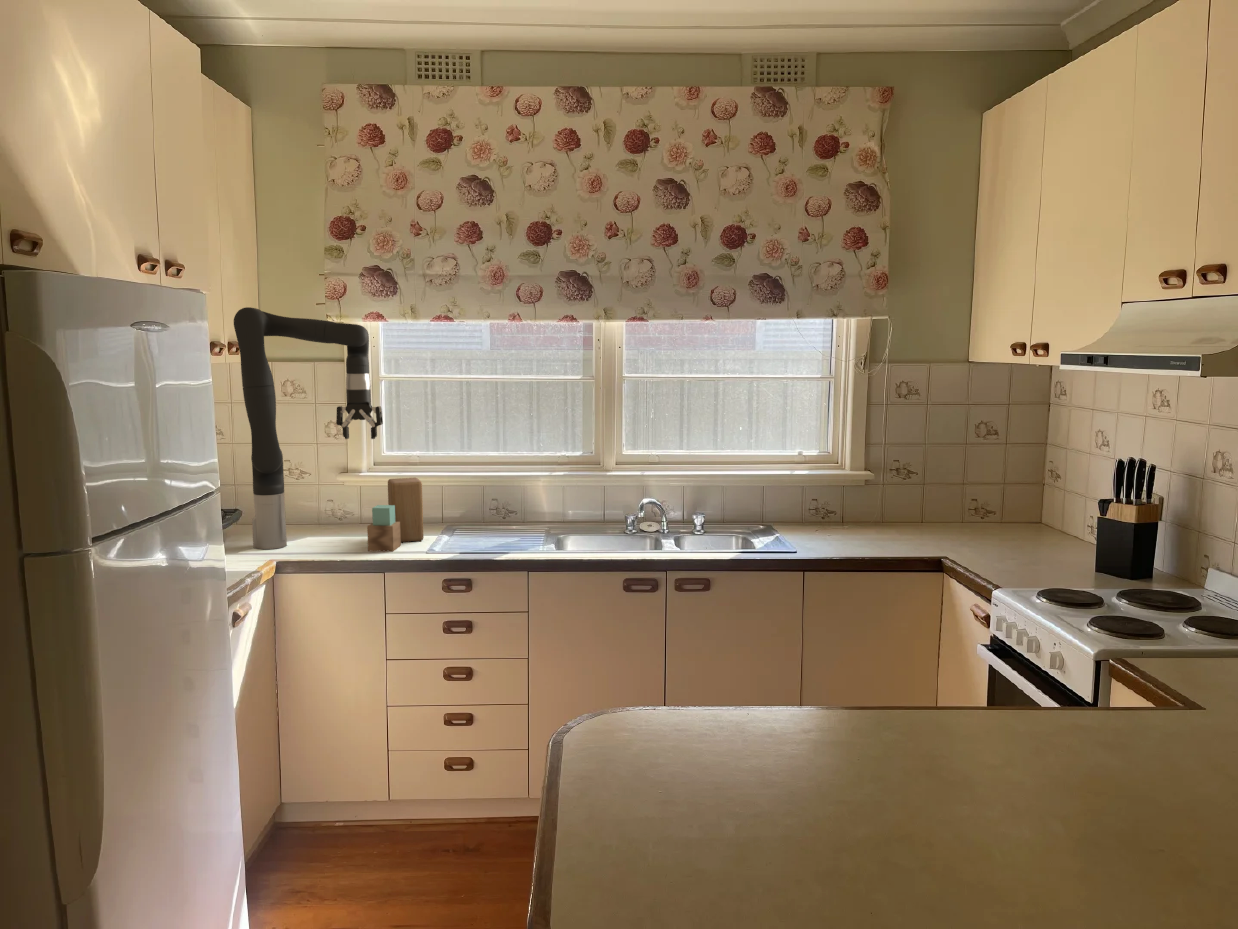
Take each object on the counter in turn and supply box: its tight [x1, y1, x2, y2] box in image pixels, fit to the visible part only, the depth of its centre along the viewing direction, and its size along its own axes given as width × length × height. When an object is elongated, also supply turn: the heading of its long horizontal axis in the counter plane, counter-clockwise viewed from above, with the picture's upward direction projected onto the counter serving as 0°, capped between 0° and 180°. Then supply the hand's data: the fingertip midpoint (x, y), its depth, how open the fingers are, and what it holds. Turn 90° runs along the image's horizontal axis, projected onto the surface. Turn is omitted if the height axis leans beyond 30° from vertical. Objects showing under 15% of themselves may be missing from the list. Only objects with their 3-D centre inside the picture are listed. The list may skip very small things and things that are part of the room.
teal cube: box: [371, 504, 395, 526], centre depth 290 cm, size 6×6×6 cm
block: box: [387, 477, 425, 543], centre depth 304 cm, size 10×10×20 cm
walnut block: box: [366, 522, 402, 552], centre depth 291 cm, size 8×8×8 cm
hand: (360, 438), depth 295 cm, fingers open, 8 cm apart
